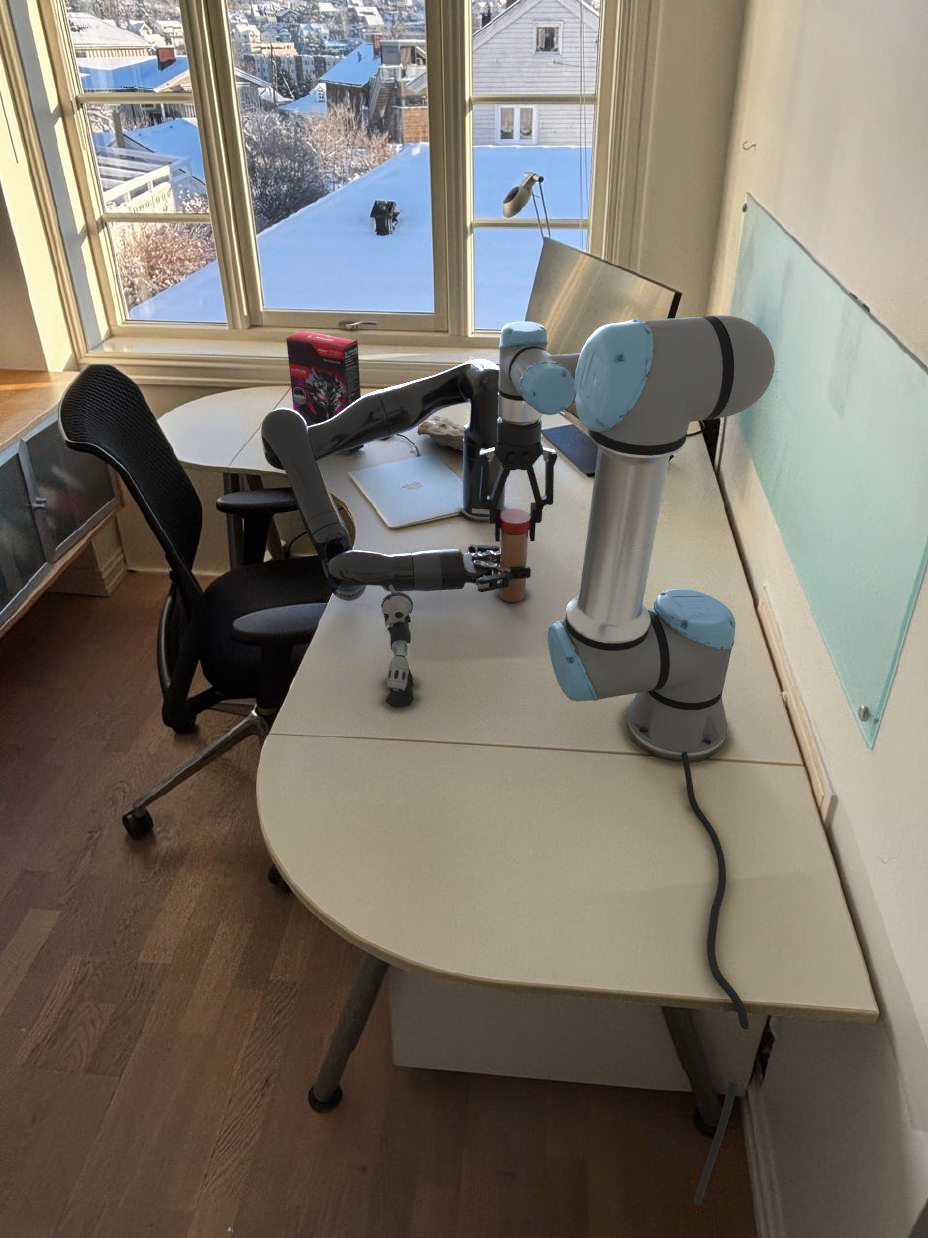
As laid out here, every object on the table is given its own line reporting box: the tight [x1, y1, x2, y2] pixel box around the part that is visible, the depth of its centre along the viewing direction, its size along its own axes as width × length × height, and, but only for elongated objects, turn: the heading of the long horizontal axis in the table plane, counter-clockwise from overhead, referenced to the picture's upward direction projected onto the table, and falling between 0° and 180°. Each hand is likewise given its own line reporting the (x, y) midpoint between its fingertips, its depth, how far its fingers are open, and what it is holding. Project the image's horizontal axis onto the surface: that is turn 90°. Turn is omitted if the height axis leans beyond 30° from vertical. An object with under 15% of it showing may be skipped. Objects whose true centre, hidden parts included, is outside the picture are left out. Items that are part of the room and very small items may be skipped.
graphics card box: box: [285, 330, 365, 456], centre depth 225 cm, size 17×7×27 cm, turn 62°
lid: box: [500, 508, 531, 534], centre depth 167 cm, size 6×6×2 cm
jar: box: [498, 529, 529, 603], centre depth 171 cm, size 5×5×16 cm
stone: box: [416, 415, 464, 452], centre depth 232 cm, size 21×15×6 cm
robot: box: [380, 581, 415, 709], centre depth 145 cm, size 20×5×20 cm, turn 3°
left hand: (527, 564), depth 172 cm, fingers closed on jar, 5 cm apart
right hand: (514, 537), depth 169 cm, fingers closed on lid, 6 cm apart
